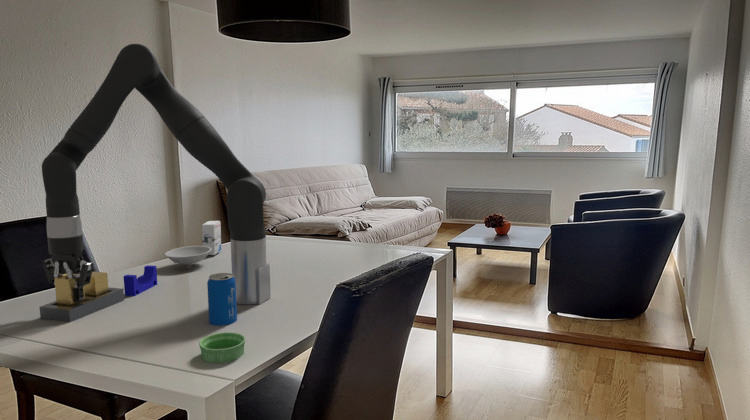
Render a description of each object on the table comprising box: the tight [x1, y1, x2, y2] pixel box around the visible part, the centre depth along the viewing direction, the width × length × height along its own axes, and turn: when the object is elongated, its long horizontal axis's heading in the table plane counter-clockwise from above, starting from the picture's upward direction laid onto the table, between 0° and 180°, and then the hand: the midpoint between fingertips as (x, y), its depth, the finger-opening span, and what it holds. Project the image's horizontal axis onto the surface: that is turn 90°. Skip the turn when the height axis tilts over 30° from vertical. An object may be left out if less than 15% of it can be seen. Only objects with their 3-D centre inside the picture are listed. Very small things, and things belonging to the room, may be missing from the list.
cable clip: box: [123, 265, 158, 297], centre depth 154 cm, size 12×4×6 cm, turn 173°
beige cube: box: [84, 271, 109, 297], centre depth 140 cm, size 4×4×8 cm
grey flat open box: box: [39, 286, 125, 323], centre depth 137 cm, size 9×18×4 cm, turn 164°
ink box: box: [201, 220, 222, 256], centre depth 201 cm, size 9×5×12 cm, turn 179°
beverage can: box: [206, 272, 238, 327], centre depth 127 cm, size 6×6×12 cm
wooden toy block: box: [53, 273, 85, 307], centre depth 132 cm, size 4×4×8 cm
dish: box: [164, 245, 212, 267], centre depth 183 cm, size 18×14×5 cm
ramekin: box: [198, 331, 246, 364], centre depth 107 cm, size 9×9×4 cm
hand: (70, 300), depth 133 cm, fingers closed on wooden toy block, 4 cm apart
